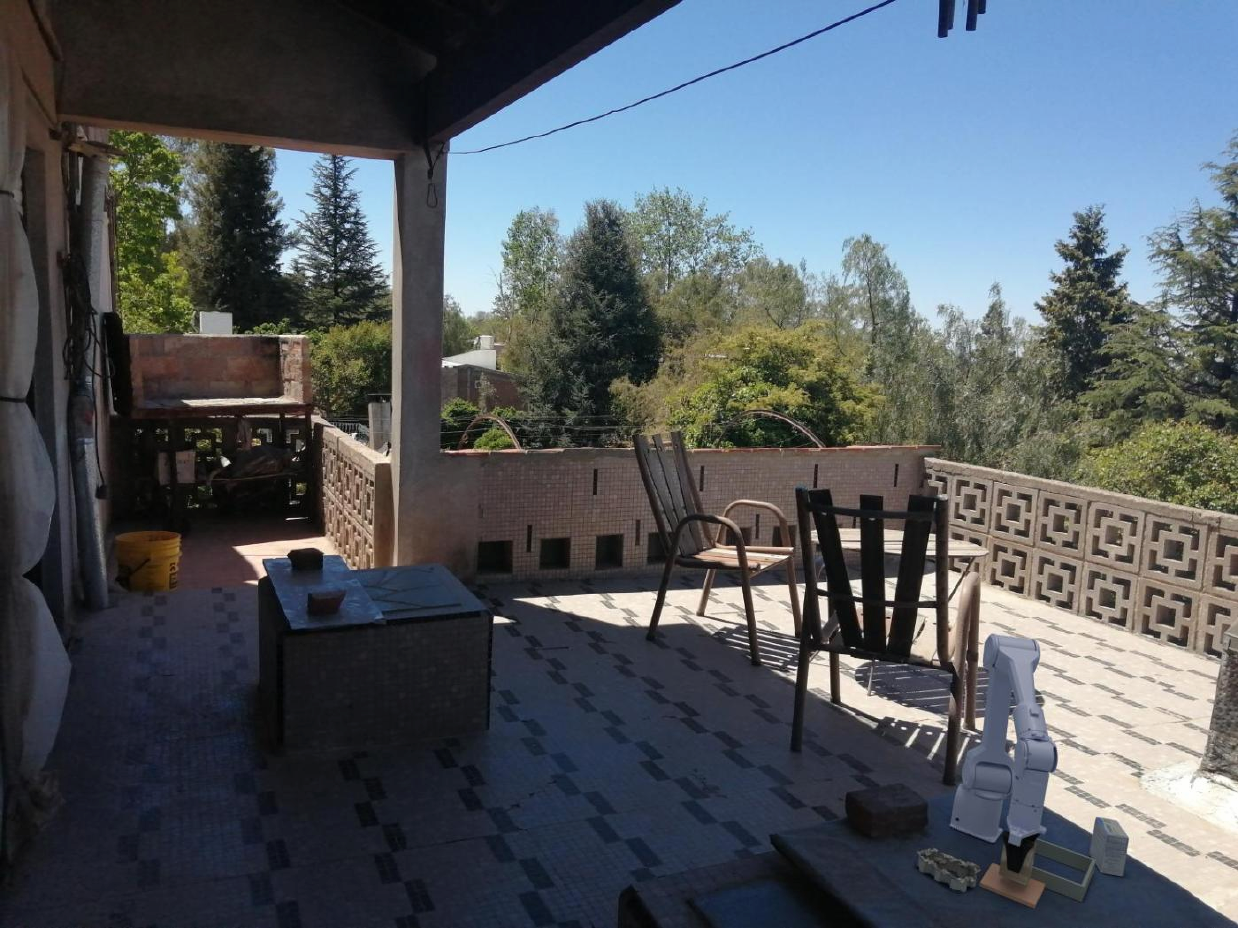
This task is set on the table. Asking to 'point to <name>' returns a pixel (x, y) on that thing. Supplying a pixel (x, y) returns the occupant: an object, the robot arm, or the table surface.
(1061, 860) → the bin
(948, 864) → the egg carton
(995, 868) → the pad
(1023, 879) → the block
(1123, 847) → the medicine box
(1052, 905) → the table surface
